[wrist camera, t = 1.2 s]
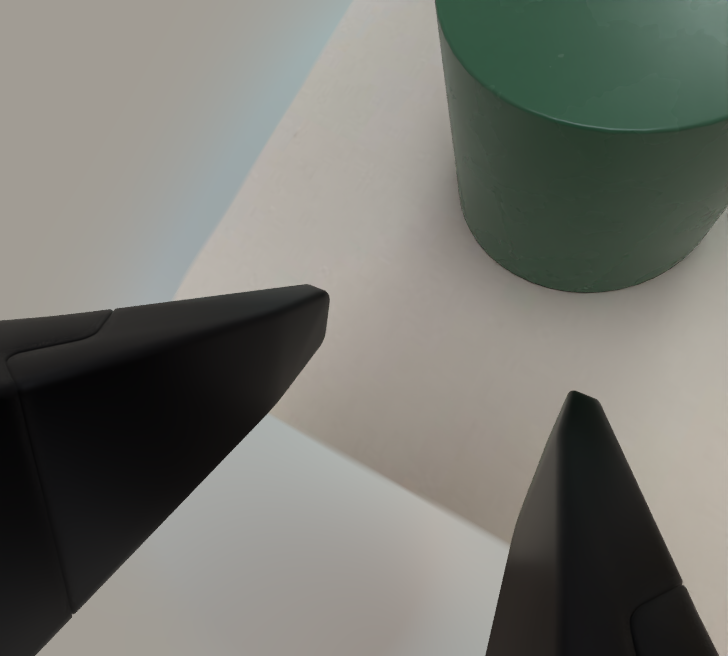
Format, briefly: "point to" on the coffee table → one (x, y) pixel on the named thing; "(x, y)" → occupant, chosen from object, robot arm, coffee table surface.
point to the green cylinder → (588, 132)
